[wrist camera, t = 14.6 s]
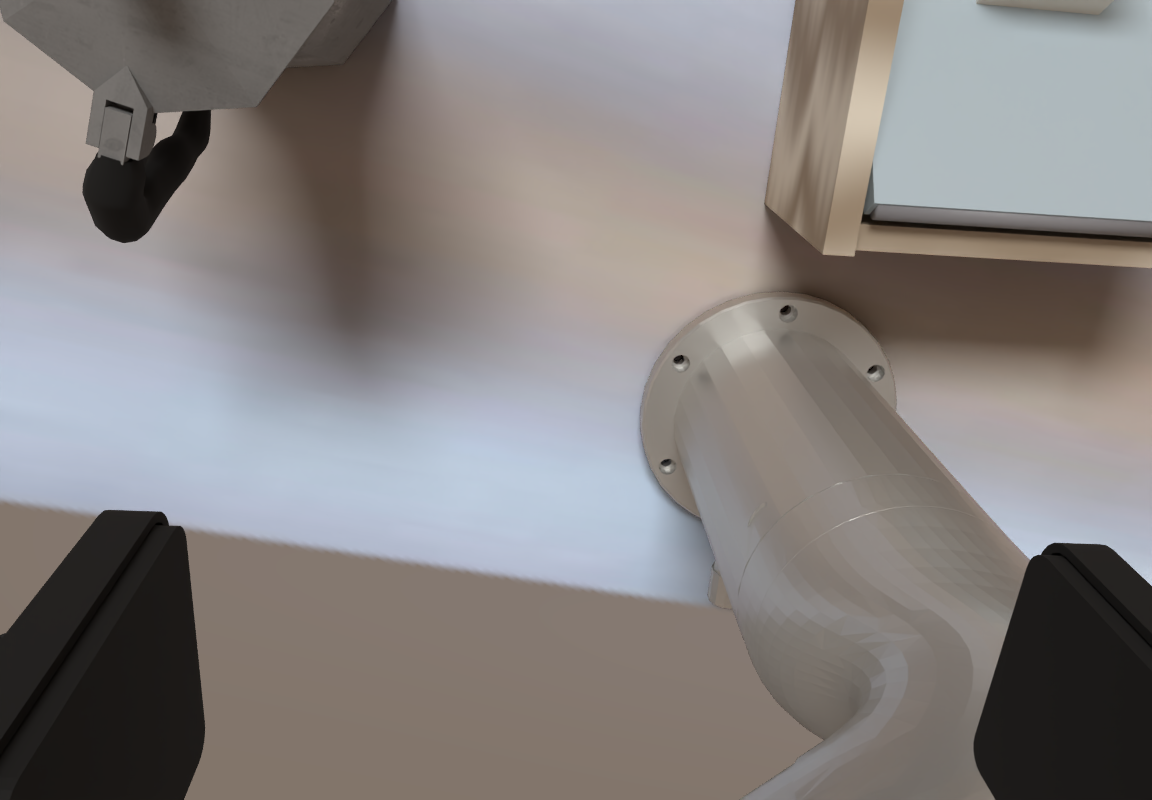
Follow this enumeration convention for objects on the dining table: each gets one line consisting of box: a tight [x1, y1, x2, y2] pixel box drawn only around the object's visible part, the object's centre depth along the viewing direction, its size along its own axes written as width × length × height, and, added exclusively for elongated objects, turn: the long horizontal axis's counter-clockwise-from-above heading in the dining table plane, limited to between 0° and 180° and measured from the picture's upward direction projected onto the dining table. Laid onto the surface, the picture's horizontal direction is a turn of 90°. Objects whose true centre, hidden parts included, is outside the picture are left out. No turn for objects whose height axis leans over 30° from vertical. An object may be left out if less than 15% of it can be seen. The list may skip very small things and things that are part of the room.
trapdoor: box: [864, 0, 1152, 238], centre depth 37 cm, size 14×14×1 cm
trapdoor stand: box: [765, 0, 1152, 268], centre depth 37 cm, size 16×17×9 cm
